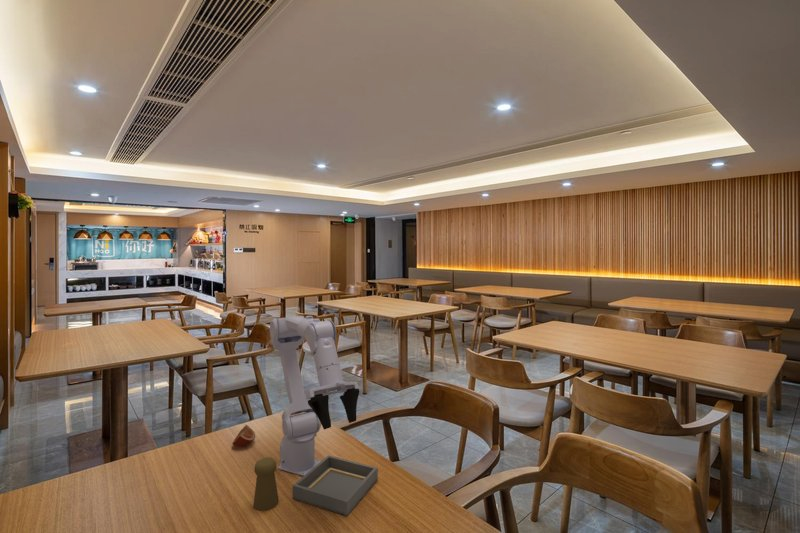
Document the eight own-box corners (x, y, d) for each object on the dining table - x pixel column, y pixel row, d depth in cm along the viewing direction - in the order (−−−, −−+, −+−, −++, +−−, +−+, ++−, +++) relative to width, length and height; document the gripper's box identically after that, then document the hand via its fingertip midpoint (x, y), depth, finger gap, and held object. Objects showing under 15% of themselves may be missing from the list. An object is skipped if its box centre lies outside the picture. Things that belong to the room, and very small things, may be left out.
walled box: (292, 498, 102) (292, 485, 102) (328, 466, 116) (328, 455, 116) (347, 516, 95) (347, 502, 95) (377, 480, 110) (377, 467, 110)
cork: (270, 512, 97) (270, 468, 96) (248, 509, 98) (247, 465, 97) (283, 497, 102) (282, 455, 102) (261, 494, 104) (260, 452, 103)
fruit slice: (237, 439, 133) (236, 424, 133) (258, 437, 134) (257, 423, 133) (229, 452, 125) (229, 436, 124) (251, 450, 125) (251, 435, 125)
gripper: (313, 365, 91) (325, 427, 86) (360, 360, 102) (373, 415, 97) (296, 374, 95) (307, 434, 90) (343, 368, 106) (355, 422, 101)
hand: (340, 425), depth 94 cm, fingers open, 7 cm apart
